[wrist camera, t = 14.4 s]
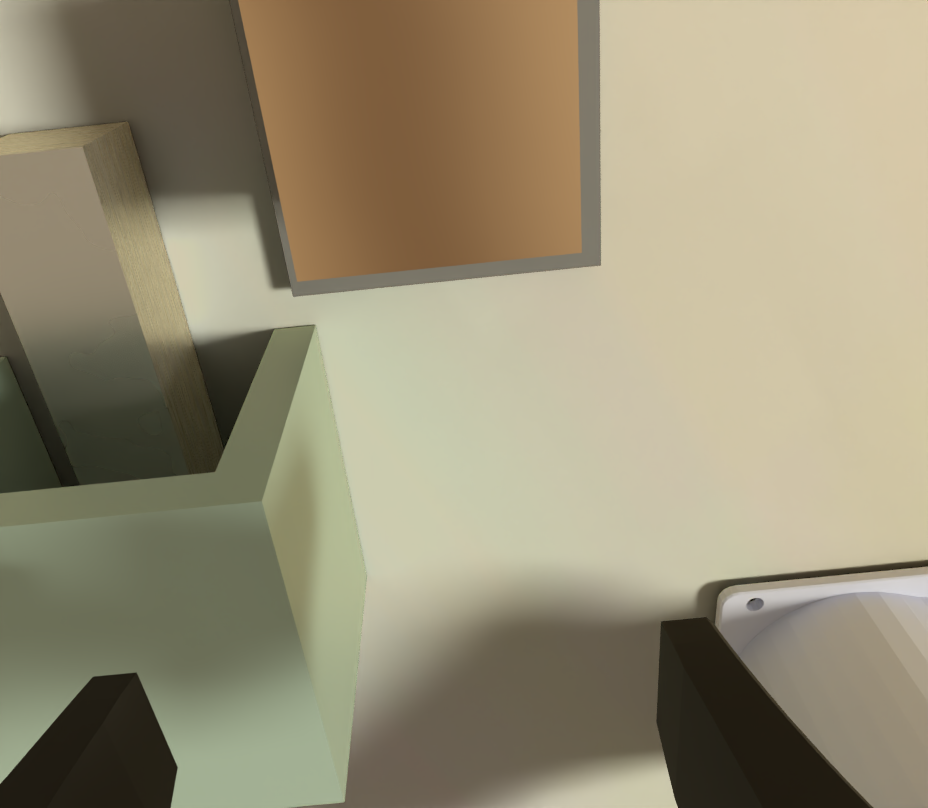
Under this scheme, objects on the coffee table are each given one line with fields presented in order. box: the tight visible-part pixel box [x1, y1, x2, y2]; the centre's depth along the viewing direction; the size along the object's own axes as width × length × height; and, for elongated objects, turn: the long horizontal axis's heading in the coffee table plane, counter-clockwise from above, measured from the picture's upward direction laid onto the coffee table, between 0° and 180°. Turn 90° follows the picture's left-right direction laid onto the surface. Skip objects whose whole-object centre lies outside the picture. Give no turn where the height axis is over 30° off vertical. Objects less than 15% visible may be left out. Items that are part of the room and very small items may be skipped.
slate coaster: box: [229, 0, 601, 297], centre depth 16 cm, size 7×7×1 cm
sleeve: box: [0, 325, 367, 808], centre depth 18 cm, size 8×8×7 cm
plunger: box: [0, 122, 224, 486], centre depth 18 cm, size 4×14×4 cm, turn 5°
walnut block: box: [238, 0, 582, 282], centre depth 13 cm, size 4×4×5 cm
